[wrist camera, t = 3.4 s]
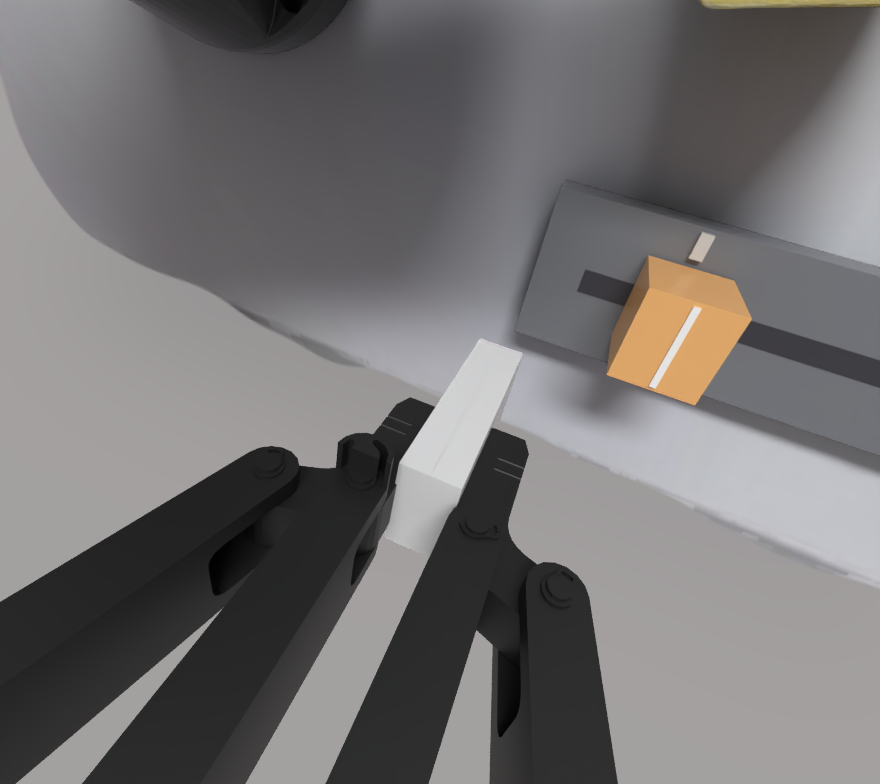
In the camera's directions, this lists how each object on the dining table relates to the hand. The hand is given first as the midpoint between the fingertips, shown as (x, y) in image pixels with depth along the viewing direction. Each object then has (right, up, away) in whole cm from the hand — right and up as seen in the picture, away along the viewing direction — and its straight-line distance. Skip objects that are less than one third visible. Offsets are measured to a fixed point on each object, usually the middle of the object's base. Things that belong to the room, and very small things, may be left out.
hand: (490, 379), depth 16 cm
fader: (+10, +4, +7) cm, 13 cm away
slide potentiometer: (+16, +3, +8) cm, 18 cm away
